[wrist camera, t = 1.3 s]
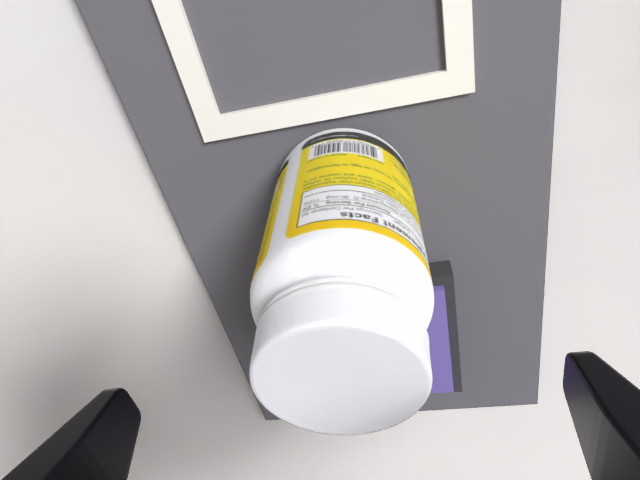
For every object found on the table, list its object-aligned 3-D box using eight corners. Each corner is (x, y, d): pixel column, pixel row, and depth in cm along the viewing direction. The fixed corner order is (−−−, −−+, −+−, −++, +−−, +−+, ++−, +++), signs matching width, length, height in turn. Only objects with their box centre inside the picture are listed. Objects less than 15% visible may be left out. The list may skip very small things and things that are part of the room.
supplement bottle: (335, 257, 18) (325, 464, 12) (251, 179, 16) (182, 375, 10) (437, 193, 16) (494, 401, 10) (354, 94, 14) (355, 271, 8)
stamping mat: (268, 410, 26) (261, 441, 24) (-10, -218, 12) (-69, -241, 10) (533, 393, 23) (545, 427, 21) (577, -445, 9) (621, -524, 8)
